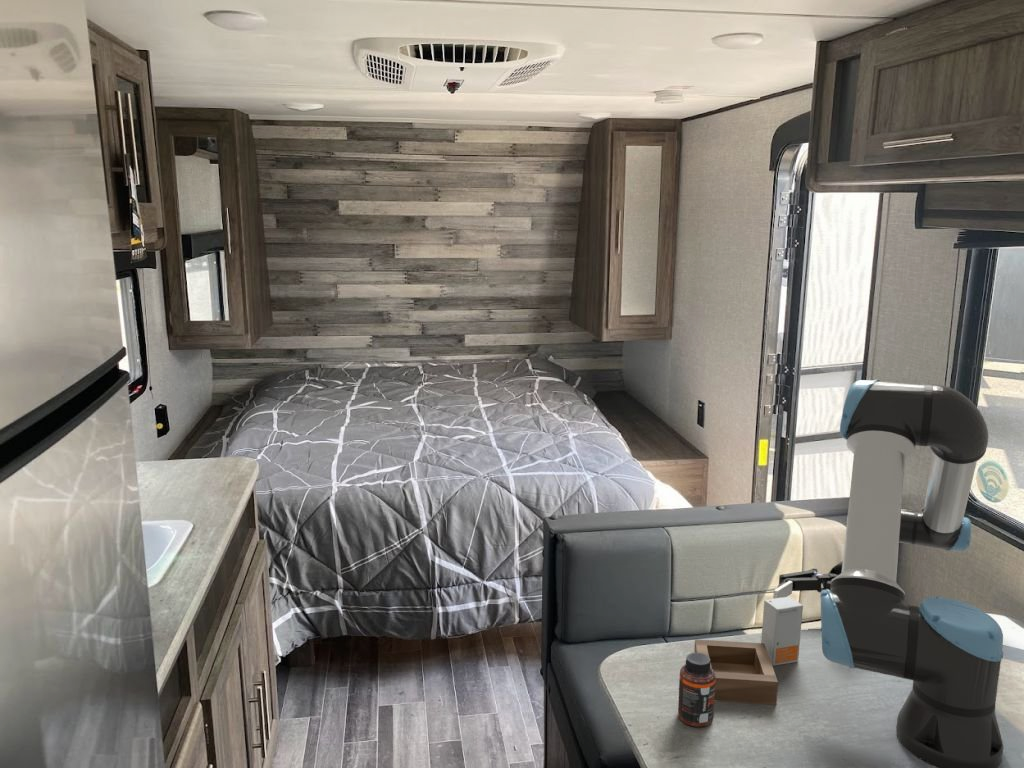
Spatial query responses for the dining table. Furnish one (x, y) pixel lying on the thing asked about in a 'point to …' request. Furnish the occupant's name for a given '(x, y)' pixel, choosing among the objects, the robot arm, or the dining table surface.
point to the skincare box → (782, 629)
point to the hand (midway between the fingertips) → (805, 608)
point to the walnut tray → (740, 671)
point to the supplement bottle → (696, 691)
